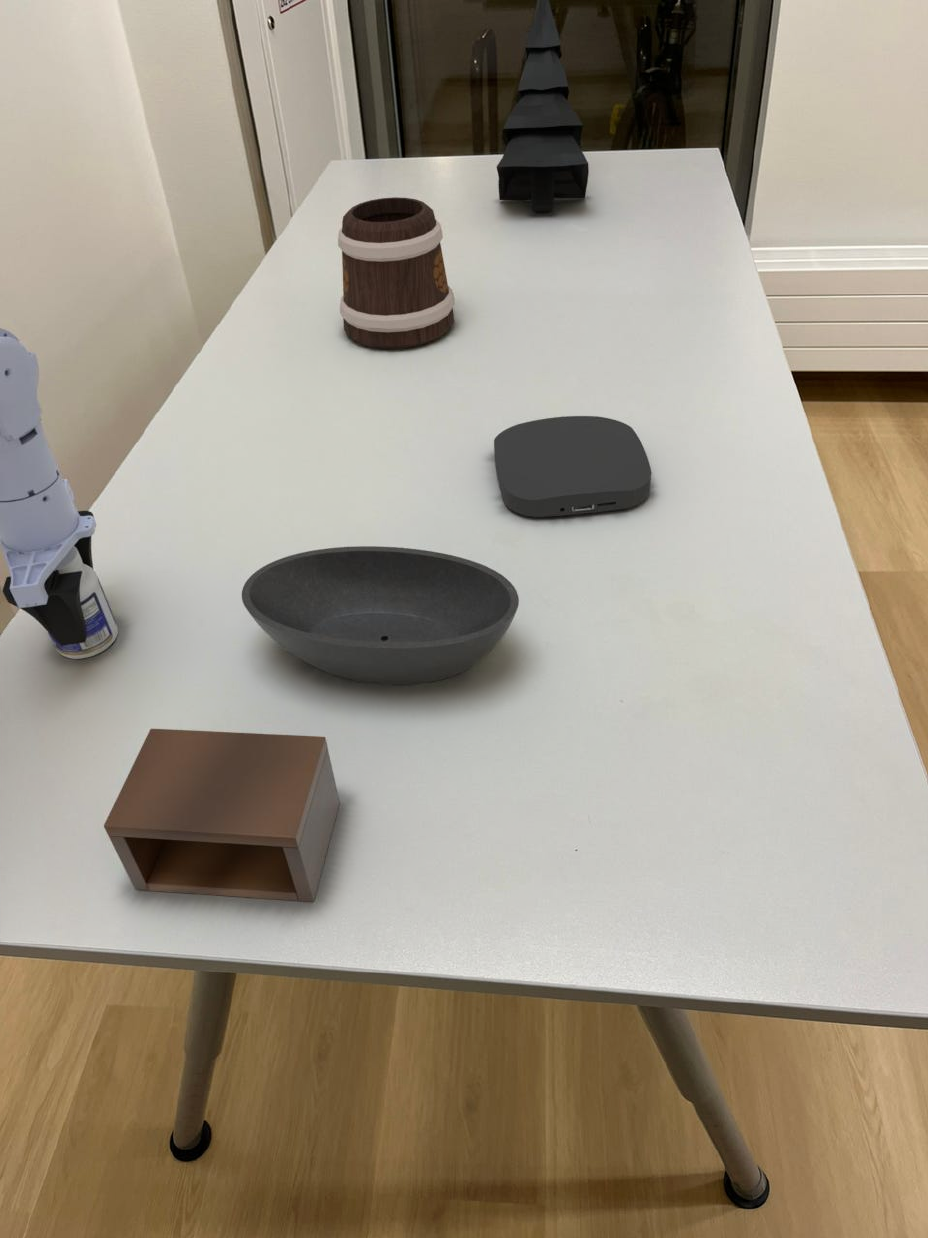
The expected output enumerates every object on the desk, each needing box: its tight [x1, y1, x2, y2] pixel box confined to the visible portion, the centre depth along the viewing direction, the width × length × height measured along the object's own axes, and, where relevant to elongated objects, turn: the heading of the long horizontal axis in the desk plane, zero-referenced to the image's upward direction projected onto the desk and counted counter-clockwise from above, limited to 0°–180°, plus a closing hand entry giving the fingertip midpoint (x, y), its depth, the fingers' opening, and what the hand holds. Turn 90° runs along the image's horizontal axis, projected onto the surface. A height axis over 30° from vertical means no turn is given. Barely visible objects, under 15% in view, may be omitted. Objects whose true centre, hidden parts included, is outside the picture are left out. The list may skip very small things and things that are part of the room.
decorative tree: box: [496, 0, 590, 214], centre depth 153 cm, size 15×15×35 cm
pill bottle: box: [47, 546, 119, 660], centre depth 78 cm, size 5×5×9 cm
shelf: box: [103, 728, 341, 903], centre depth 62 cm, size 12×8×7 cm, turn 84°
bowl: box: [241, 545, 520, 685], centre depth 76 cm, size 12×22×6 cm, turn 79°
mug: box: [337, 196, 456, 350], centre depth 123 cm, size 20×15×15 cm
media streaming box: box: [493, 415, 652, 518], centre depth 95 cm, size 15×15×3 cm
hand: (78, 618), depth 80 cm, fingers closed on pill bottle, 5 cm apart
